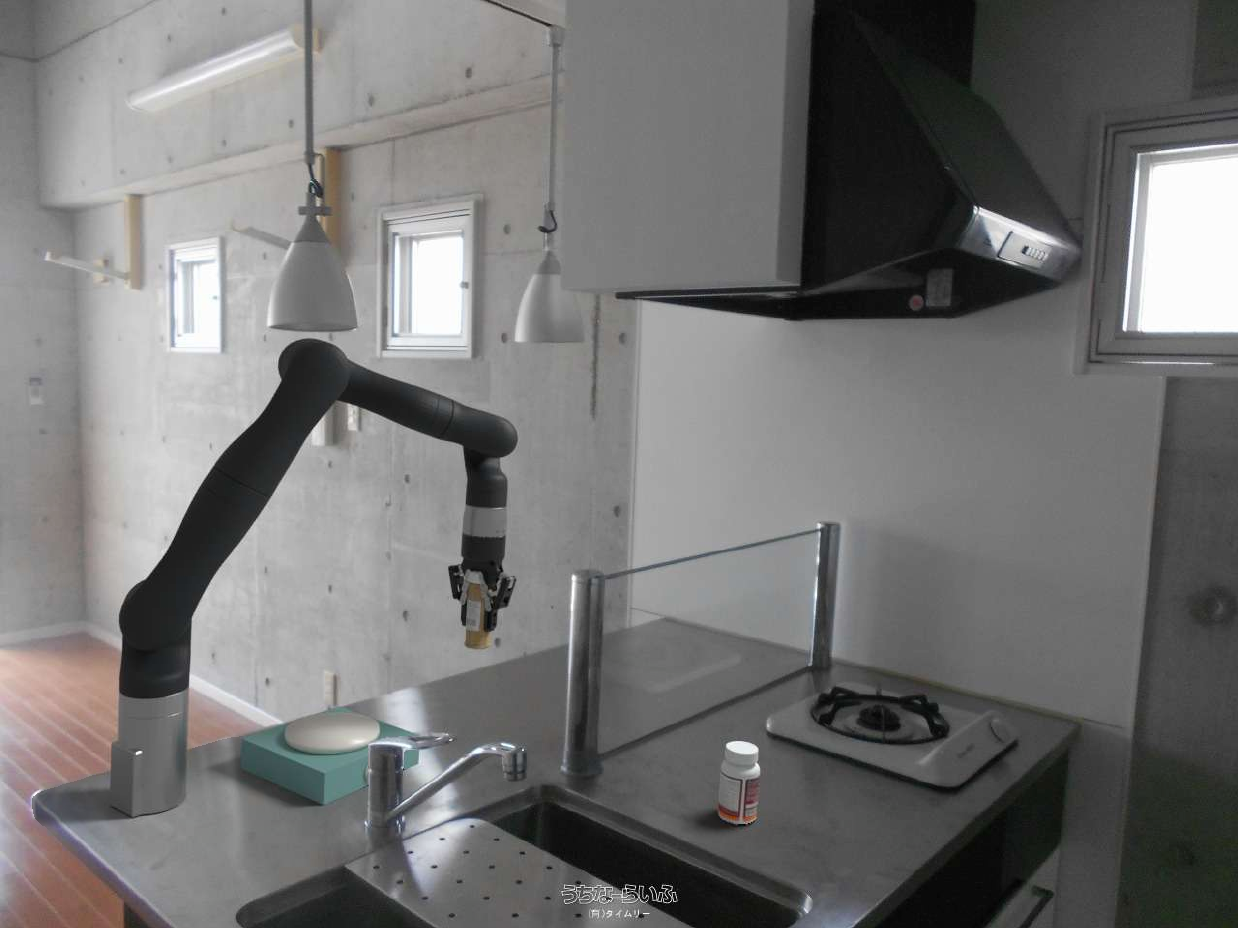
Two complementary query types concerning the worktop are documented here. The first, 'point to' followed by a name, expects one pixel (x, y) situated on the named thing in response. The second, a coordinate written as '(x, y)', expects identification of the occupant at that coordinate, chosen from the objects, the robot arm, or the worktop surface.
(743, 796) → the pill bottle
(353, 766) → the scale
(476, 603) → the sprinkles bottle
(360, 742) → the scale pan
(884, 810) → the worktop surface
